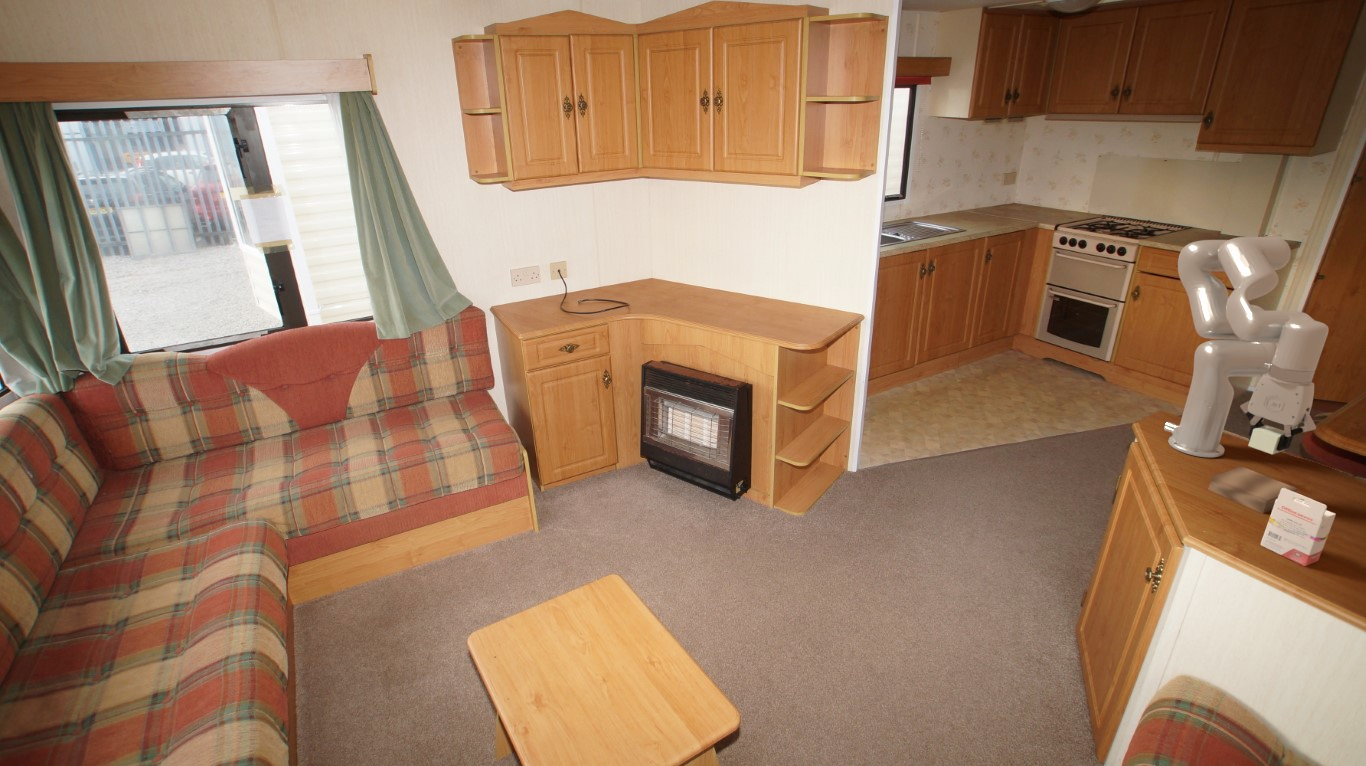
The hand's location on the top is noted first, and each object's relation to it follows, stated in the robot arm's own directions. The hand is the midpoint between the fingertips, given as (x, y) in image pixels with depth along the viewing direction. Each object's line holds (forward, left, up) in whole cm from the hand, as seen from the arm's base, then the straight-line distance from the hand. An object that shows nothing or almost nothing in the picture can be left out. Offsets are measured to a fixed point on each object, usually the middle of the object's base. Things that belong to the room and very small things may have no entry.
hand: (1267, 444), depth 157 cm
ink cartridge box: (+17, -18, -15) cm, 29 cm away
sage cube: (0, 0, -1) cm, 1 cm away
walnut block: (0, 0, -15) cm, 15 cm away
